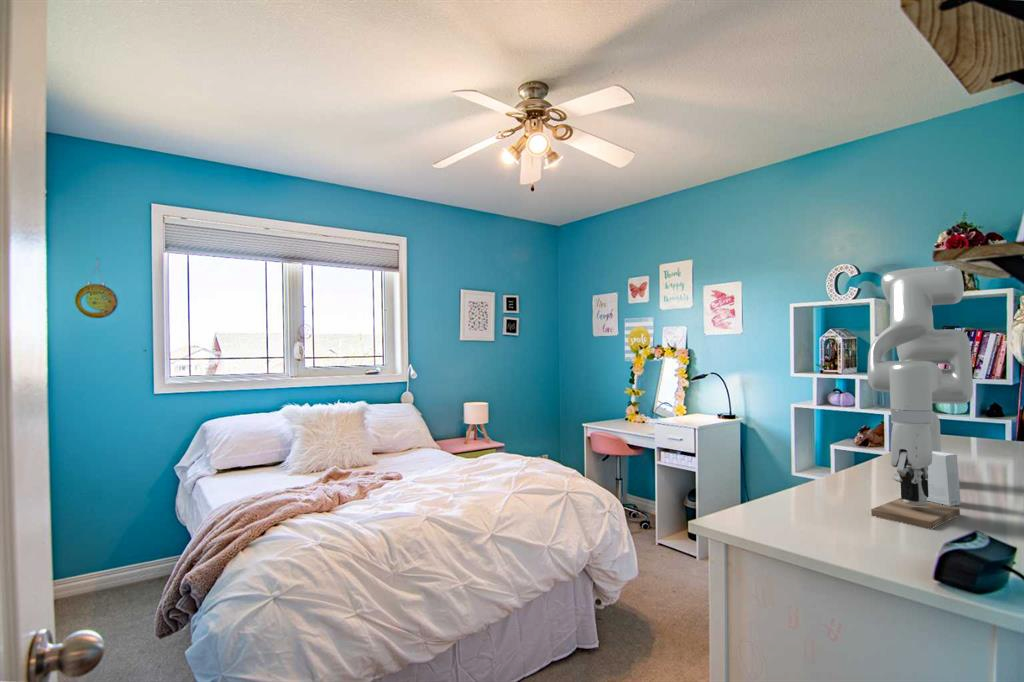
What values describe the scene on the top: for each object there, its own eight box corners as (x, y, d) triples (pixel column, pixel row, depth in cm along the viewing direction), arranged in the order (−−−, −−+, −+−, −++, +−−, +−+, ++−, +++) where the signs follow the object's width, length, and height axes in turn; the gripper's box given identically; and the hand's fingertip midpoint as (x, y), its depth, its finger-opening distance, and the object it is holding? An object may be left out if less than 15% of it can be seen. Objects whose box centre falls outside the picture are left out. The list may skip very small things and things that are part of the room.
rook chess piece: (932, 506, 114) (930, 470, 114) (909, 506, 114) (908, 470, 115) (920, 501, 118) (919, 466, 118) (898, 500, 119) (897, 465, 119)
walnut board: (902, 503, 125) (902, 497, 125) (959, 514, 116) (959, 508, 116) (871, 515, 116) (871, 509, 116) (930, 529, 107) (930, 522, 107)
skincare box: (961, 504, 123) (959, 454, 123) (949, 507, 121) (947, 455, 122) (933, 498, 129) (930, 449, 129) (921, 500, 127) (919, 451, 127)
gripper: (907, 412, 124) (911, 488, 124) (875, 419, 115) (878, 501, 115) (946, 415, 118) (950, 495, 118) (915, 422, 109) (919, 509, 109)
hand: (914, 497), depth 116 cm, fingers closed on rook chess piece, 4 cm apart
